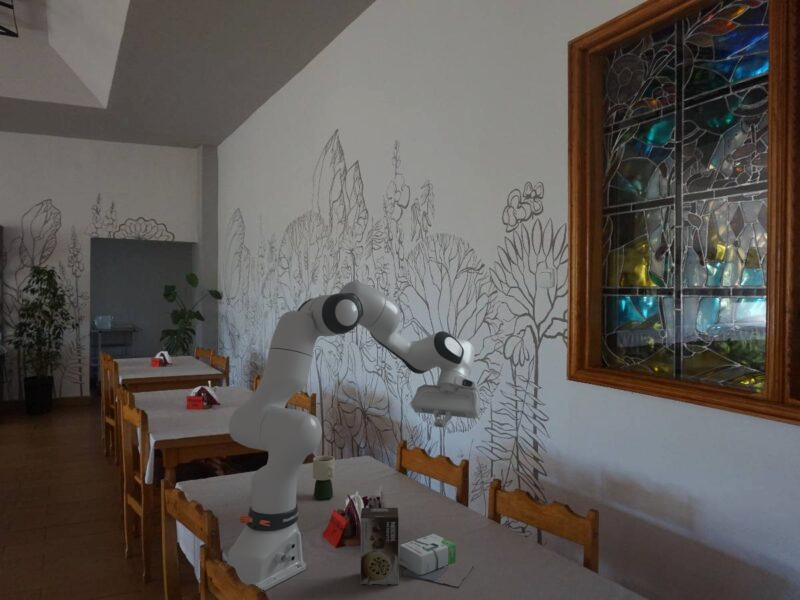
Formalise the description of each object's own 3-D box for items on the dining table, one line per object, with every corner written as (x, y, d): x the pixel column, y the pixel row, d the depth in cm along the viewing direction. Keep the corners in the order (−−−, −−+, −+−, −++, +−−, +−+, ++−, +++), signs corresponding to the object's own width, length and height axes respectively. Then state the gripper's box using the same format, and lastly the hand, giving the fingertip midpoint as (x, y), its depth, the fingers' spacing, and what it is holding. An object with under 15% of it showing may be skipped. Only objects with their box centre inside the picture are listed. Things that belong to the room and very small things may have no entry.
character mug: (341, 500, 202) (342, 460, 202) (322, 505, 198) (323, 464, 197) (324, 491, 211) (324, 452, 210) (305, 495, 206) (305, 456, 206)
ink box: (456, 543, 157) (421, 556, 149) (456, 563, 157) (421, 576, 150) (433, 532, 164) (398, 544, 156) (433, 551, 164) (398, 564, 156)
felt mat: (458, 587, 145) (458, 585, 145) (403, 575, 151) (403, 573, 151) (473, 566, 156) (473, 565, 156) (421, 555, 162) (421, 554, 162)
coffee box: (397, 572, 152) (399, 507, 152) (398, 585, 146) (399, 517, 146) (360, 572, 152) (361, 506, 152) (359, 585, 146) (360, 516, 145)
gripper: (416, 377, 190) (402, 415, 181) (481, 383, 181) (470, 423, 173) (421, 390, 194) (408, 428, 185) (485, 396, 186) (475, 436, 177)
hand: (439, 425), depth 179 cm, fingers closed
